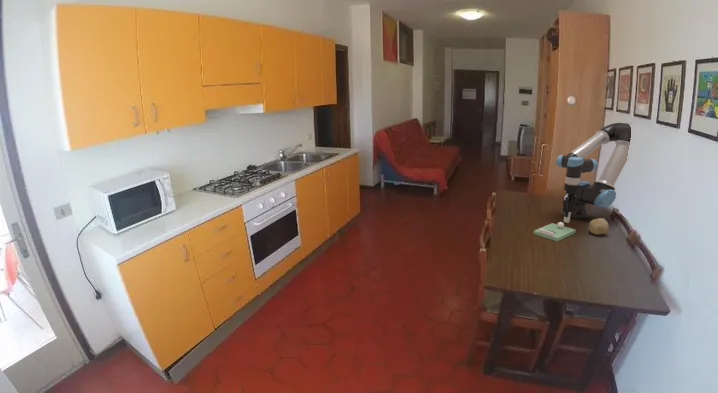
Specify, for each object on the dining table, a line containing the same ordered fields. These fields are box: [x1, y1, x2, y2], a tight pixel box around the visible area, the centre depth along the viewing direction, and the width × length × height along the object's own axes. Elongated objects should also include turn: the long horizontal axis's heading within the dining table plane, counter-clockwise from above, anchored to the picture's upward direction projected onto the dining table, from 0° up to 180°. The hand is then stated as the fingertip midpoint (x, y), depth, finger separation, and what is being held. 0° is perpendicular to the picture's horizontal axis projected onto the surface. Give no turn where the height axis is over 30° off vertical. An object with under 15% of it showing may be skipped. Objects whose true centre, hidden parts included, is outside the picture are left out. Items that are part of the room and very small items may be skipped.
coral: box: [588, 217, 610, 236], centre depth 208 cm, size 10×10×10 cm
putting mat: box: [533, 222, 577, 242], centre depth 211 cm, size 20×14×4 cm
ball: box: [557, 221, 565, 228], centre depth 214 cm, size 4×4×4 cm
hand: (566, 221), depth 218 cm, fingers closed
